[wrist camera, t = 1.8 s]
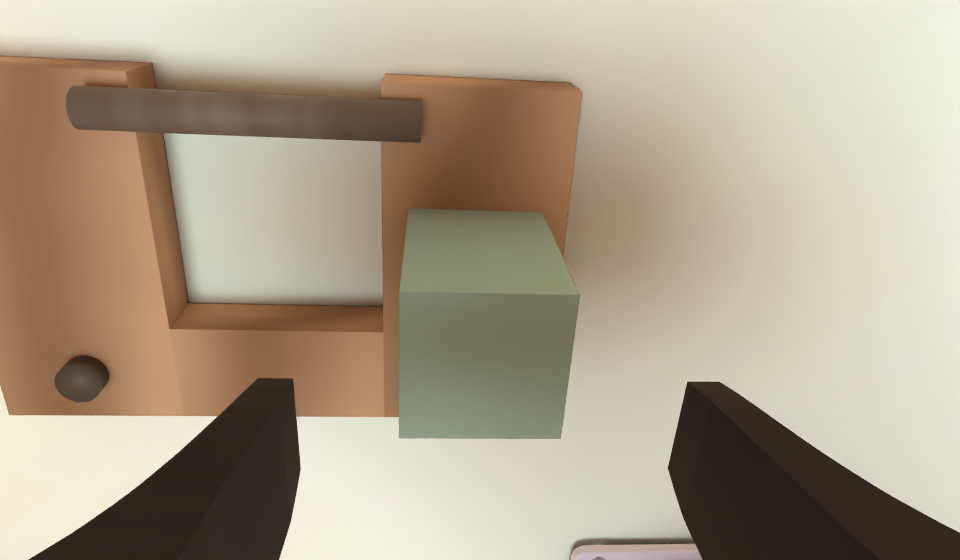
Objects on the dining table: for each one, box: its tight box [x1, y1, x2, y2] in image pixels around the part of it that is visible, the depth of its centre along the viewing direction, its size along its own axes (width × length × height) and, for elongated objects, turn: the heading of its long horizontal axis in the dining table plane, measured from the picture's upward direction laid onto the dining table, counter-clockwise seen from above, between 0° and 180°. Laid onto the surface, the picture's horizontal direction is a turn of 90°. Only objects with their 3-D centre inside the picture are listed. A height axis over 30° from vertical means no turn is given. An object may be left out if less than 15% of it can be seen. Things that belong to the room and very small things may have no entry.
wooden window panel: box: [0, 56, 582, 417], centre depth 18 cm, size 16×10×3 cm, turn 87°
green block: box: [399, 209, 580, 439], centre depth 16 cm, size 4×4×5 cm
